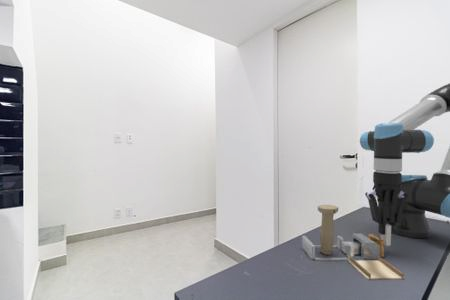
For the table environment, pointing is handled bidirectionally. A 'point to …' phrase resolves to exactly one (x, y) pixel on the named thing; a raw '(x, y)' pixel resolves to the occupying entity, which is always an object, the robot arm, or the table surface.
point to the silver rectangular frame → (310, 248)
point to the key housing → (367, 246)
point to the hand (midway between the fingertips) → (385, 243)
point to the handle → (327, 228)
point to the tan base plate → (376, 269)
